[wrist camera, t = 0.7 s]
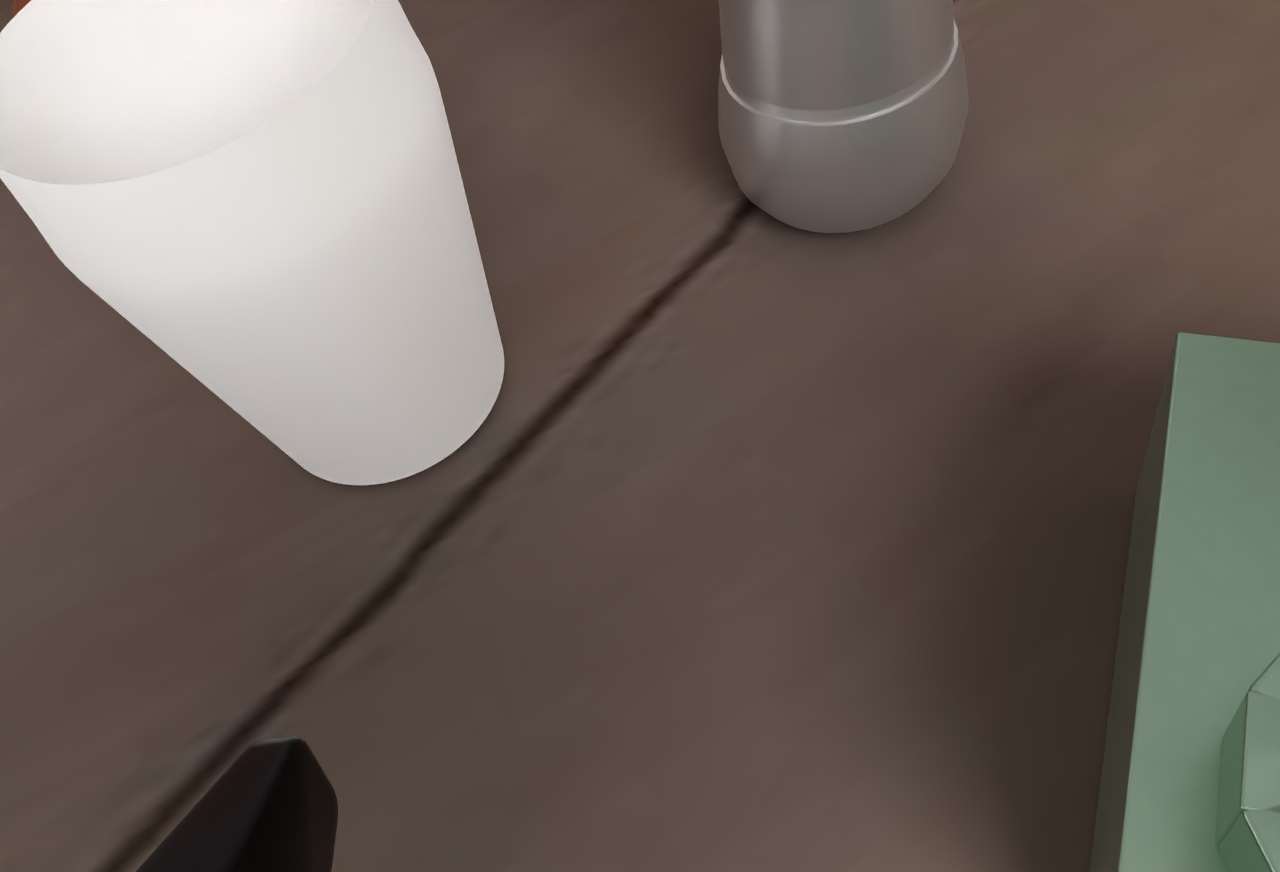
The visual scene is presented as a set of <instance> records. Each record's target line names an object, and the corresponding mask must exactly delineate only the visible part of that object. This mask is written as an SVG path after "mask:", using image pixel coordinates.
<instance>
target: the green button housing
mask: <svg viewBox="0 0 1280 872" xmlns="http://www.w3.org/2000/svg"><path fill="white" fill-rule="evenodd" d="M1089 872H1280V343H1275V342H1266V341H1257V340H1248V339H1239V338H1230V337H1221V336H1212V335H1203V334H1194V333H1185V332H1179V333H1178V334H1177V336H1176V340H1175V344H1174V347H1173V351H1172V355H1171V359H1170V363H1169V367H1168V370H1167V374H1166V378H1165V382H1164V386H1163V389H1162V393H1161V397H1160V401H1159V405H1158V409H1157V412H1156V416H1155V420H1154V424H1153V428H1152V431H1151V435H1150V439H1149V443H1148V447H1147V450H1146V454H1145V458H1144V462H1143V466H1142V470H1141V473H1140V477H1139V481H1138V485H1137V489H1136V495H1135V503H1134V512H1133V520H1132V528H1131V536H1130V544H1129V552H1128V560H1127V569H1126V577H1125V585H1124V593H1123V601H1122V609H1121V617H1120V626H1119V634H1118V642H1117V650H1116V658H1115V666H1114V674H1113V683H1112V691H1111V699H1110V707H1109V715H1108V723H1107V731H1106V740H1105V748H1104V756H1103V764H1102V772H1101V780H1100V788H1099V797H1098V805H1097V813H1096V821H1095V829H1094V837H1093V845H1092V854H1091V862H1090V870H1089Z"/></svg>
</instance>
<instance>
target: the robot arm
mask: <svg viewBox="0 0 1280 872" xmlns="http://www.w3.org/2000/svg"><path fill="white" fill-rule="evenodd" d="M337 821H338V804H337V798H336V794H335V791H334V789H333V787H332V785H331V784H330V782H329V780H328V778H327V777H326V775H325V773H324V772H323V770H322V768H321V767H320V765H319V763H318V761H317V760H316V758H315V756H314V755H313V753H312V751H311V750H310V748H309V746H308V745H307V743H306V742H305V741H303V740H302V739H300V738H298V737H285V738H272V739H263V740H259V741H256V742H254V743H253V744H252V745H250V746H249V747H248V748H247V749H246V750H245V751H244V752H243V753H242V754H241V755H240V756H239V757H238V759H237V760H236V761H235V762H234V763H233V764H232V765H231V766H230V767H229V769H228V770H227V771H226V772H225V773H224V774H223V775H222V776H221V777H220V779H219V780H218V781H217V782H216V783H215V784H214V785H213V786H212V787H211V789H210V790H209V791H208V792H207V793H206V794H205V795H204V796H203V797H202V799H201V800H200V801H199V802H198V803H197V804H196V805H195V806H194V807H193V809H192V810H191V811H190V812H189V813H188V814H187V815H186V816H185V817H184V819H183V820H182V821H181V822H180V823H179V824H178V825H177V826H176V827H175V829H174V830H173V831H172V832H171V833H170V834H169V835H168V836H167V837H166V839H165V840H164V841H163V842H162V843H161V844H160V845H159V846H158V847H157V849H156V850H155V851H154V852H153V853H152V854H151V855H150V856H149V857H148V859H147V860H146V861H145V862H144V863H143V864H142V865H141V866H140V867H139V869H138V870H137V871H136V872H331V870H332V862H333V854H334V845H335V837H336V829H337Z"/></svg>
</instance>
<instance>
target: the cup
mask: <svg viewBox="0 0 1280 872" xmlns="http://www.w3.org/2000/svg"><path fill="white" fill-rule="evenodd" d="M0 178H1V180H2V181H3V182H4V184H5V185H6V186H7V188H8V189H9V190H10V191H11V193H12V194H13V195H14V197H15V198H16V200H17V201H18V202H19V204H20V205H21V206H22V208H23V209H24V210H25V212H26V213H27V214H28V216H29V217H30V218H31V220H32V221H33V222H34V224H35V225H36V227H37V228H38V229H39V231H40V232H41V234H42V235H43V237H44V238H45V240H46V241H47V243H48V244H49V245H50V247H51V248H52V250H53V251H54V252H55V254H56V255H57V257H58V258H59V259H60V260H61V261H62V262H63V264H64V265H65V266H66V267H67V268H68V269H69V270H70V271H71V272H72V273H73V274H74V275H75V276H76V277H77V278H78V279H79V280H81V281H82V282H83V283H84V284H85V285H87V286H88V287H89V288H90V289H91V290H92V291H94V292H95V293H96V294H97V295H98V296H99V297H101V298H102V299H103V300H104V301H105V302H107V303H108V304H109V305H110V306H111V307H112V308H114V309H115V310H116V311H117V312H118V313H119V314H121V315H122V316H123V317H124V318H125V319H127V320H128V321H129V322H130V323H131V324H132V325H134V326H135V327H136V328H137V329H138V330H140V331H141V332H142V333H143V334H144V335H146V336H147V337H148V338H149V339H150V340H152V341H153V342H154V343H155V344H156V345H157V346H159V347H160V348H161V349H162V350H163V351H165V352H166V353H167V354H168V355H169V356H171V357H172V358H173V359H174V360H175V361H176V362H178V363H179V364H180V365H181V366H182V367H184V368H185V369H186V370H187V371H188V372H190V373H191V374H192V375H193V376H194V377H196V378H197V379H198V380H199V381H200V382H201V383H203V384H204V385H205V386H206V387H207V388H209V389H210V390H211V391H212V392H213V393H215V394H216V395H217V396H218V397H219V398H221V399H222V400H223V401H224V402H225V403H226V404H228V405H229V406H230V407H231V408H232V409H234V410H235V411H236V412H237V413H238V414H240V415H241V416H242V417H243V418H244V419H246V420H247V421H248V422H249V423H250V424H251V425H253V426H254V427H255V428H256V429H257V430H259V431H260V432H261V433H262V434H263V435H265V436H266V437H267V438H268V439H269V440H271V441H272V442H273V443H274V444H275V445H276V446H278V447H279V448H280V449H281V450H282V451H284V452H285V453H286V454H287V455H288V456H290V457H291V458H292V459H293V460H294V461H296V462H297V463H298V464H299V465H300V466H301V467H303V468H304V469H305V470H307V471H308V472H310V473H312V474H313V475H315V476H318V477H320V478H322V479H325V480H328V481H331V482H335V483H340V484H347V485H374V484H381V483H387V482H391V481H395V480H399V479H402V478H405V477H408V476H411V475H414V474H416V473H418V472H421V471H423V470H425V469H427V468H429V467H431V466H433V465H434V464H436V463H438V462H440V461H441V460H443V459H444V458H446V457H447V456H449V455H450V454H451V453H453V452H454V451H455V450H457V449H458V448H459V447H460V446H461V445H463V444H464V443H465V442H466V441H467V440H468V439H469V438H470V437H471V436H472V435H473V434H474V432H475V431H476V430H477V429H478V428H479V427H480V425H481V424H482V423H483V421H484V420H485V419H486V417H487V416H488V414H489V412H490V411H491V409H492V407H493V405H494V403H495V401H496V399H497V397H498V394H499V391H500V388H501V385H502V381H503V375H504V352H503V347H502V343H501V339H500V335H499V330H498V326H497V322H496V318H495V314H494V310H493V306H492V302H491V297H490V293H489V289H488V285H487V281H486V277H485V273H484V269H483V265H482V260H481V256H480V252H479V248H478V244H477V240H476V236H475V232H474V227H473V223H472V219H471V215H470V211H469V207H468V203H467V199H466V195H465V190H464V186H463V182H462V178H461V174H460V170H459V166H458V162H457V158H456V153H455V149H454V145H453V141H452V137H451V133H450V129H449V125H448V121H447V117H446V113H445V109H444V105H443V101H442V97H441V93H440V89H439V85H438V82H437V79H436V76H435V73H434V70H433V67H432V65H431V62H430V60H429V57H428V55H427V54H426V52H425V50H424V48H423V46H422V45H421V43H420V41H419V39H418V38H417V36H416V34H415V32H414V30H413V29H412V27H411V25H410V23H409V21H408V19H407V17H406V15H405V13H404V11H403V9H402V7H401V5H400V3H399V1H398V0H31V1H30V2H29V3H28V4H27V5H26V6H25V7H24V8H23V9H22V10H20V11H19V12H18V13H17V14H16V16H15V17H14V18H13V19H12V20H11V21H10V22H9V23H8V24H7V25H6V26H5V28H4V29H3V30H2V31H1V33H0Z"/></svg>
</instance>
